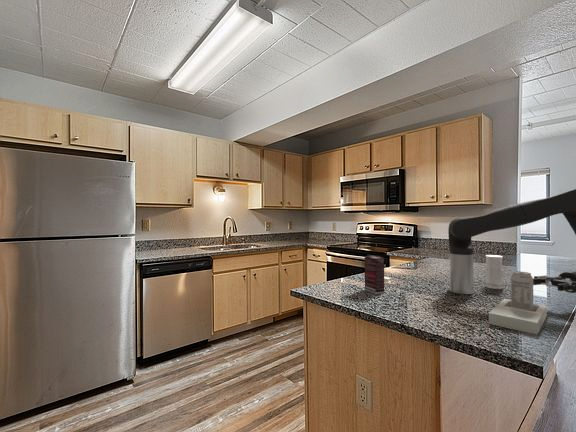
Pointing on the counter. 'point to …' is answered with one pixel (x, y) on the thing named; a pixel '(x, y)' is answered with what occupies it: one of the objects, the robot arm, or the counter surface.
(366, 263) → the supplement box
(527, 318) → the socket block
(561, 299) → the counter surface
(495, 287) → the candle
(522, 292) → the energy drink can
